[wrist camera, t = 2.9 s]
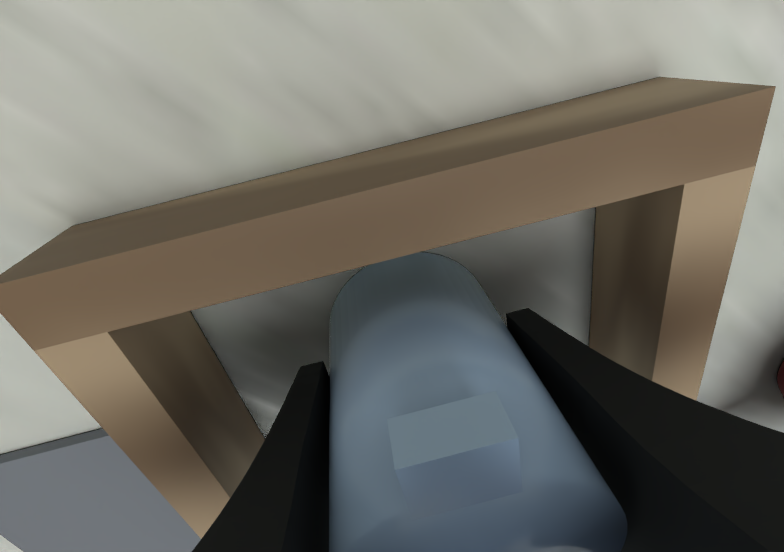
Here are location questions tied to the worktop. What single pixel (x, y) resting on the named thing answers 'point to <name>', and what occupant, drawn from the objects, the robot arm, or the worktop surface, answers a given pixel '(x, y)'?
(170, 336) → the holder
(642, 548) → the robot arm
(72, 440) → the mat
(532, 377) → the light blue rounded pot
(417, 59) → the worktop surface
